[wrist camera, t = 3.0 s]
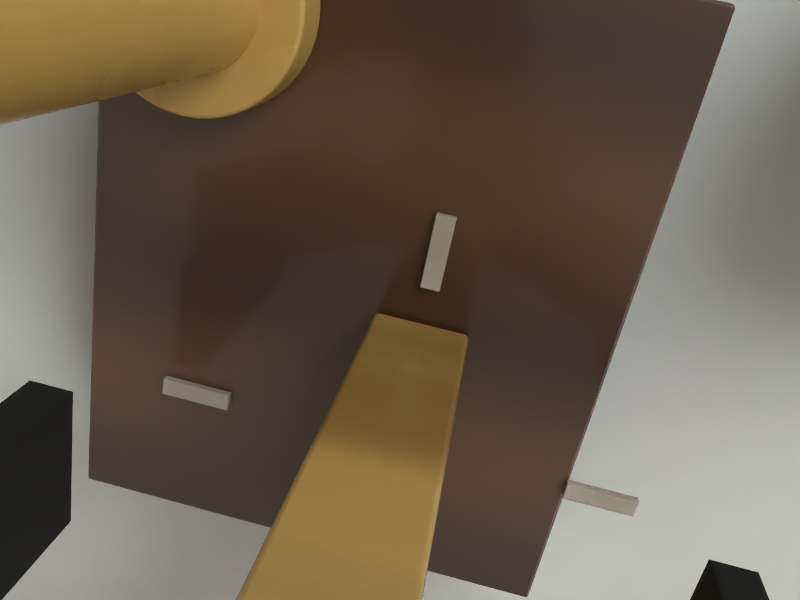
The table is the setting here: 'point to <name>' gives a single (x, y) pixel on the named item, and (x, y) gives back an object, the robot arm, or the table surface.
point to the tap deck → (394, 252)
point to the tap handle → (369, 475)
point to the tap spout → (151, 53)
